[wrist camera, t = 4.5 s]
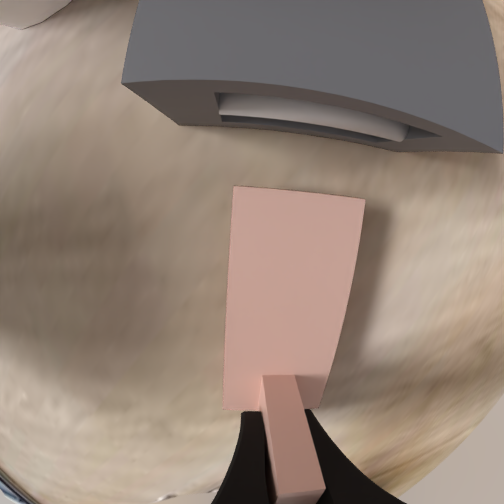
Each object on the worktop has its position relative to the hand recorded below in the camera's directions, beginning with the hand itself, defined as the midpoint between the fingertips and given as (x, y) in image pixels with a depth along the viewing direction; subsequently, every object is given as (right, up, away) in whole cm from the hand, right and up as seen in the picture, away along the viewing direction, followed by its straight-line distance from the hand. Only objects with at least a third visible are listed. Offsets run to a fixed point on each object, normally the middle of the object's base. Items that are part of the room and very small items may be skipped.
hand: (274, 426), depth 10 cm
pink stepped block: (0, +3, 0) cm, 3 cm away
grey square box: (+1, +15, -2) cm, 15 cm away
